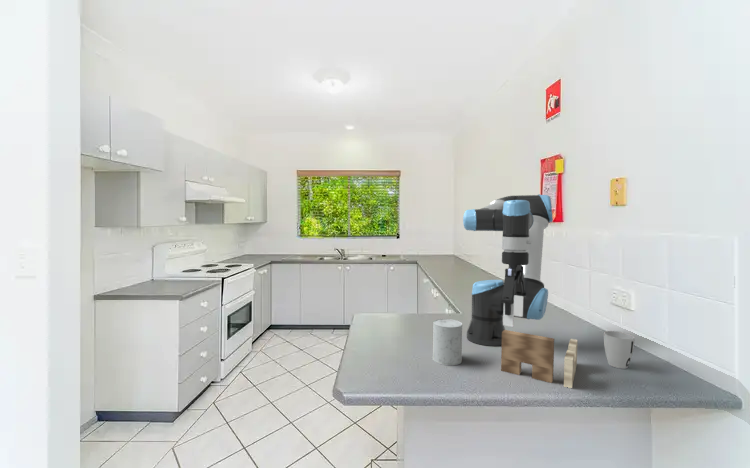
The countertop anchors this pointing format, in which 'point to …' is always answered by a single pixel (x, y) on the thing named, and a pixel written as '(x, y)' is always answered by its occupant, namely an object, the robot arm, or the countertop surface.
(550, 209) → the robot arm
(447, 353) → the grey stone cylinder
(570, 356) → the maple plate
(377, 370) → the countertop surface
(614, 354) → the cup
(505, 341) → the brown wooden board
